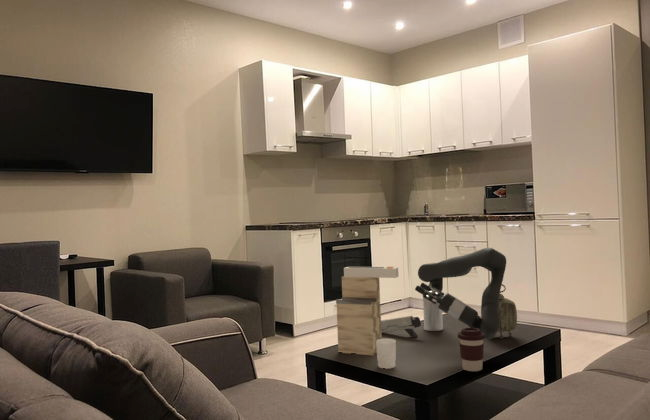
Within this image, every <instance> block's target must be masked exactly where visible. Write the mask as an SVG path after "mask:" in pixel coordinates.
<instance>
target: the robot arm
mask: <svg viewBox="0 0 650 420" xmlns="http://www.w3.org/2000/svg"><path fill="white" fill-rule="evenodd" d="M475 267H476V268H478V267H480V268H481V267H482V268H484V269H485V270H487V271H489V272H490V275H491V280H490V281H489V283H488V285H487V286H486V287H485V289H483V293H482V296H481V306H480V308H481V309H480V312H481V311H482V313H483V314H482V318H481V317H480V315H479V313H478V311H477V310H475V309H474V308H473V307H471V306H469V305H467V304H466V303H464V302H463V301H462V300H460V299H458V297H455V296H454V295H451V294H450V293H448V292H446V293H444V292H443V287H444V284H443V283H444V278H445V279H446V278H457V277H463V276H466V275H468V274H469V273H471V271H472V269H473V268H475ZM506 267H507V258H506V256H505V255H504V254H503V253H502V252H500V251H499V250H496V249H494V248H493V247H483V248H481V249H479V250H476V251H474V252H471V253H467V254H463V255H459V256H454V257H449V258H447V259H444V260H441V261H439V262H429V263H424V264H421V265H420V267H419V268H418V270H417V276H418V278H419V279H420V280H421V281H422V282H421V284H420V285H416V287H415V289H414V291H416V292H417V293H418V294H421V295H422V302H423V305H422V306H423V328H424V330H425V331H427V332H429V331H430V332H439V331H443V328H444V327H443V323H444V322H443V320H444V319H443V312H444V313H445V314H447V315H449V316H450V317H452V318H454V319H456V320H458V321H460V322H461V323H463V324H464V325H467V326H468V328H478V329H480V331H481V332H482V333H484V334H485V339H484V340H491V339H493V338H495V337H496V335H497V334H498V330H499V326H500V319H499V297H500V294H501V293H500V291H501V288H502V284H503V281H504V275H505V272H506ZM426 283H428V284H426Z"/></svg>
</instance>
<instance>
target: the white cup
mask: <svg viewBox="0 0 650 420" xmlns="http://www.w3.org/2000/svg"><path fill="white" fill-rule="evenodd" d="M396 344H397V341H396V339H394V338H382V339H378V340H376V351H377V353H376V359H377V366H378V368H380V369H383V368H385V369H386V370H387V369H394V368H395V367H396V359H397V357H396V356H397V345H396Z"/></svg>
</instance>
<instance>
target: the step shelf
mask: <svg viewBox="0 0 650 420" xmlns="http://www.w3.org/2000/svg"><path fill="white" fill-rule="evenodd" d="M380 287H381V286H380V278H374V277H344V275H343V276H341V292H342V293H341V294H342V295H341V296H342V297H341V299H335V303H336V322H337V323H336V326H337V328H336V329H337V350H338V351H337V352H342V354H351V353H356V354H355V355H363V356H364V355H366V356H374V355H376V354H377V351H376V340H378V339H383V338H382V333H381V320H382V314H381V313H382V311H381V289H380Z"/></svg>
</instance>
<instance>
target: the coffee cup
mask: <svg viewBox="0 0 650 420" xmlns="http://www.w3.org/2000/svg"><path fill="white" fill-rule="evenodd" d="M457 338H458V339H459V352H460V358H461V364H462V369H463V370H464V371H468V372H479V371H482V370H483V360H484V351H485V350H484V347H485V345H484V340H486V339H485V334H484V333H482V332H481V331H480V329H478V328H470V327H465V328H462V329H461V331H459V332H457Z"/></svg>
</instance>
